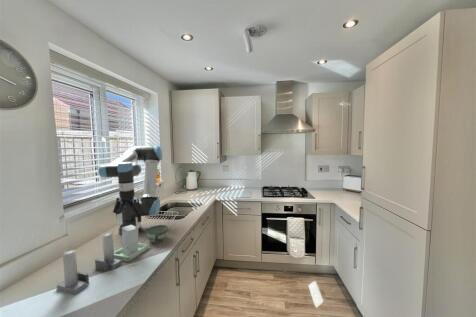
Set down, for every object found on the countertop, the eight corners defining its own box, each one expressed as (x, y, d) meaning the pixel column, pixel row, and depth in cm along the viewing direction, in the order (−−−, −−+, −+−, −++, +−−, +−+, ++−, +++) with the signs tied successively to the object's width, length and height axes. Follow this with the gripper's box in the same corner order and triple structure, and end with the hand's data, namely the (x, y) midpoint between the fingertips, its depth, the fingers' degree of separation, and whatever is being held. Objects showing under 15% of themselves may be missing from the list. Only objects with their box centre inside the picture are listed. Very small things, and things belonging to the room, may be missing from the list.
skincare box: (122, 252, 116) (120, 227, 115) (132, 248, 121) (131, 224, 120) (129, 257, 111) (127, 230, 110) (139, 252, 116) (138, 227, 115)
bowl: (173, 237, 135) (172, 226, 135) (159, 247, 123) (158, 234, 122) (156, 235, 140) (156, 224, 139) (141, 244, 127) (140, 232, 126)
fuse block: (57, 289, 88) (54, 253, 87) (106, 260, 110) (104, 231, 109) (74, 294, 84) (71, 257, 83) (121, 263, 106) (119, 234, 105)
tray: (110, 258, 112) (110, 254, 111) (132, 245, 125) (131, 241, 125) (128, 262, 108) (128, 257, 108) (148, 248, 122) (148, 244, 121)
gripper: (104, 190, 114) (107, 226, 116) (139, 192, 107) (141, 231, 109) (115, 187, 122) (118, 221, 123) (149, 189, 114) (151, 225, 116)
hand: (129, 226), depth 116 cm, fingers open, 13 cm apart
